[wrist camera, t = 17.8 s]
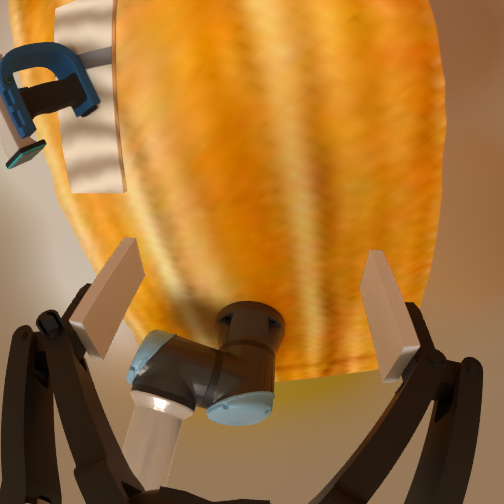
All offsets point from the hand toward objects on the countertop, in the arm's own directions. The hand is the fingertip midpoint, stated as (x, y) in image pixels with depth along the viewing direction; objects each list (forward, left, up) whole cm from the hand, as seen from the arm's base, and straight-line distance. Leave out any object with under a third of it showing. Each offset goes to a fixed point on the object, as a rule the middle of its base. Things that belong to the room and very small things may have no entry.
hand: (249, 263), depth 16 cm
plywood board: (+8, +30, -31) cm, 44 cm away
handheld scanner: (+10, +30, -30) cm, 44 cm away
